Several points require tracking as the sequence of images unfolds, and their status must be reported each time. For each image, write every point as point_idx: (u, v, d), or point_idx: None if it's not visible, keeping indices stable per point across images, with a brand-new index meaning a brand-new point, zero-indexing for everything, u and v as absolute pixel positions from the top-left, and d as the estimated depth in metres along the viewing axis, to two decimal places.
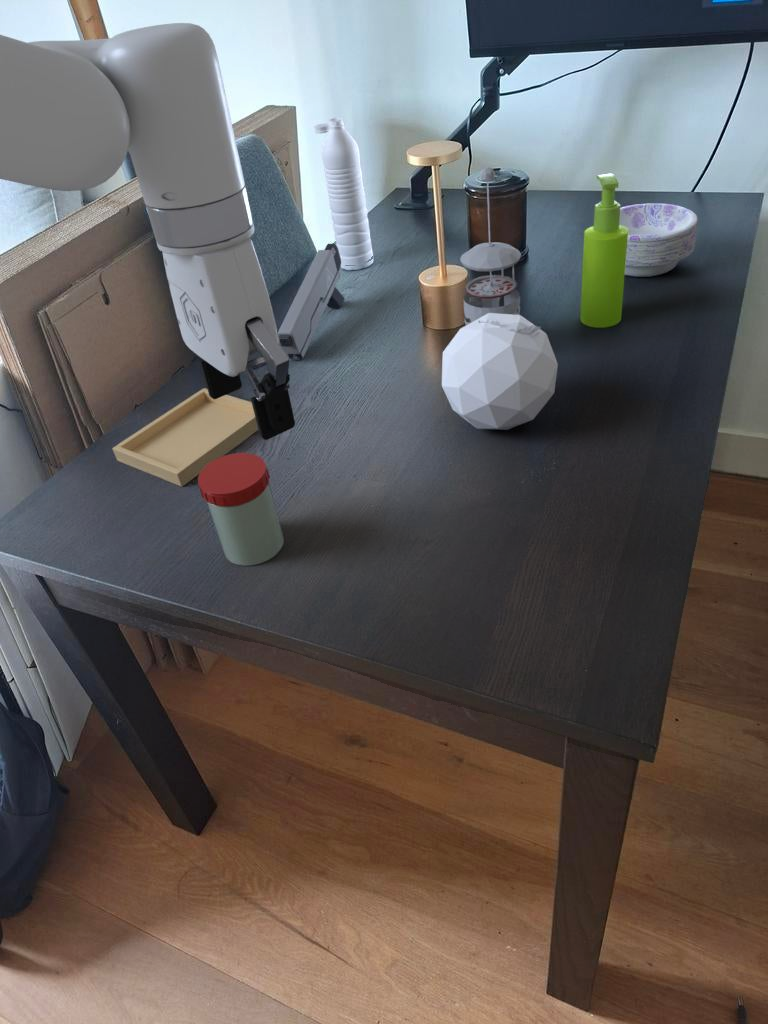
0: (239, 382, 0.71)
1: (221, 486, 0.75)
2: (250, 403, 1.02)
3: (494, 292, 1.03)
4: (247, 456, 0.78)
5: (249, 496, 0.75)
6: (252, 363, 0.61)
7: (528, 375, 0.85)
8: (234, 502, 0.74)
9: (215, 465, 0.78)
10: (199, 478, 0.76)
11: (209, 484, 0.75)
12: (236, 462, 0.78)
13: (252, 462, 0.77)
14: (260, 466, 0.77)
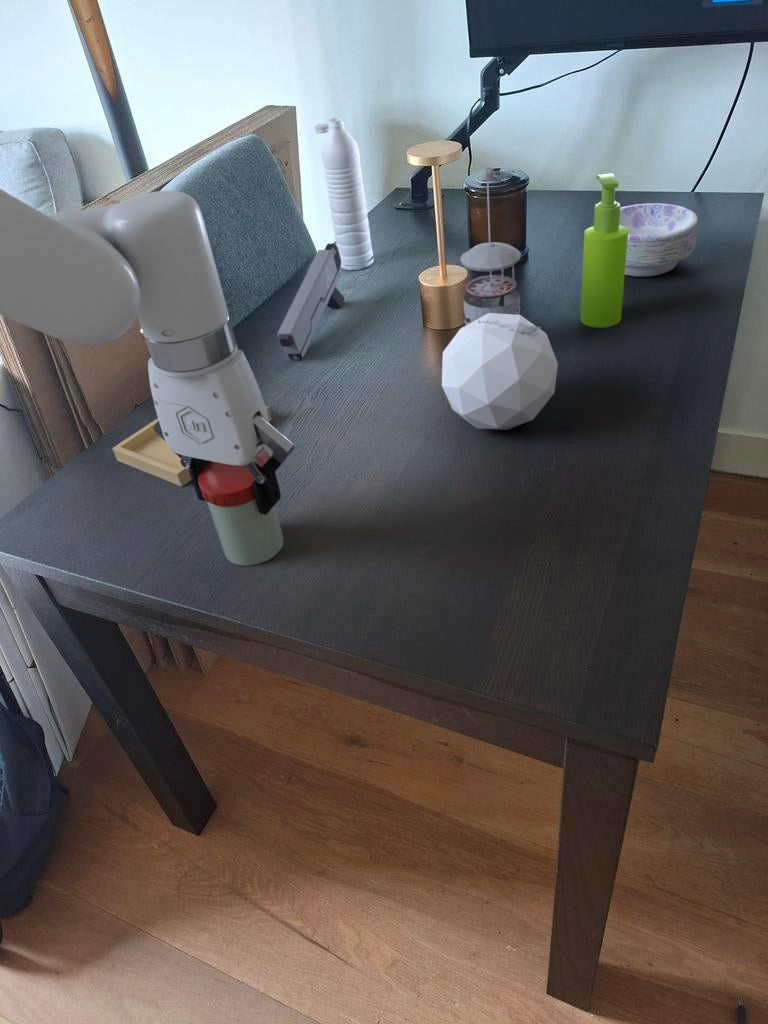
0: None
1: (221, 486, 0.75)
2: None
3: (494, 292, 1.03)
4: None
5: (249, 496, 0.75)
6: None
7: (528, 375, 0.85)
8: (234, 502, 0.74)
9: (215, 465, 0.78)
10: (199, 478, 0.76)
11: (209, 484, 0.75)
12: None
13: None
14: (260, 466, 0.77)
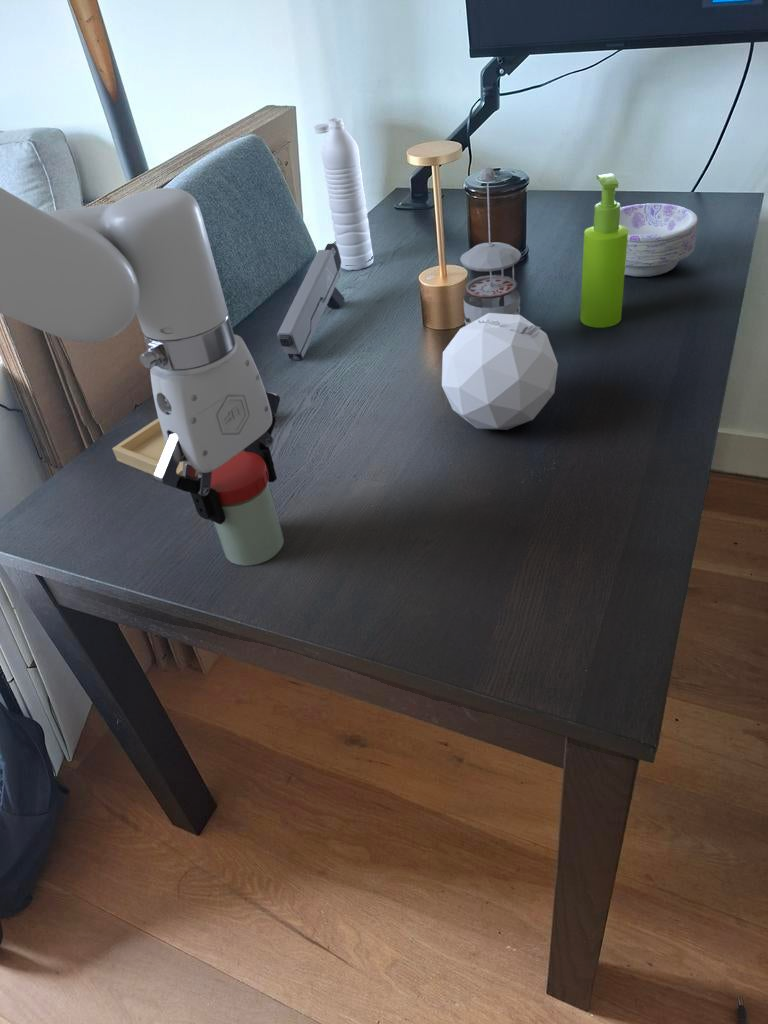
0: None
1: (249, 475, 0.75)
2: None
3: (494, 292, 1.03)
4: None
5: (266, 468, 0.78)
6: None
7: (528, 375, 0.85)
8: (267, 477, 0.77)
9: None
10: (224, 491, 0.74)
11: (240, 483, 0.74)
12: (216, 469, 0.77)
13: None
14: None
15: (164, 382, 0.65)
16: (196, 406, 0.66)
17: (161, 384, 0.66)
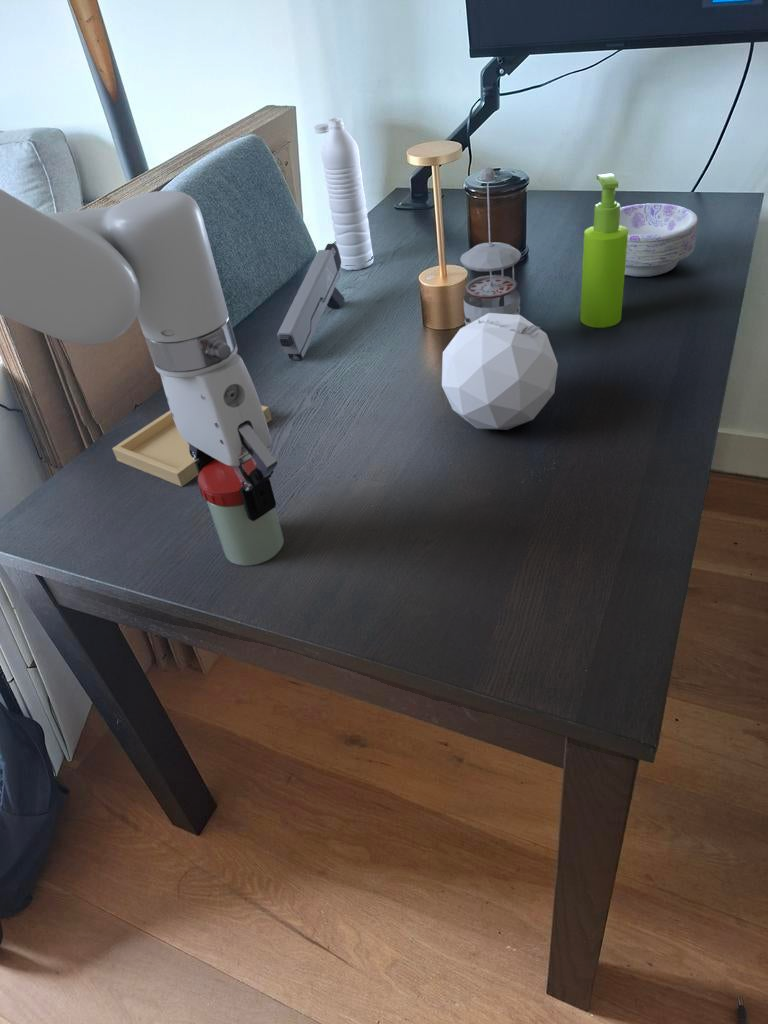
0: None
1: None
2: None
3: (494, 292, 1.03)
4: (208, 486, 0.75)
5: None
6: None
7: (528, 375, 0.85)
8: None
9: None
10: None
11: None
12: (221, 482, 0.75)
13: (208, 478, 0.76)
14: (204, 472, 0.77)
15: (233, 369, 0.66)
16: None
17: (229, 375, 0.66)
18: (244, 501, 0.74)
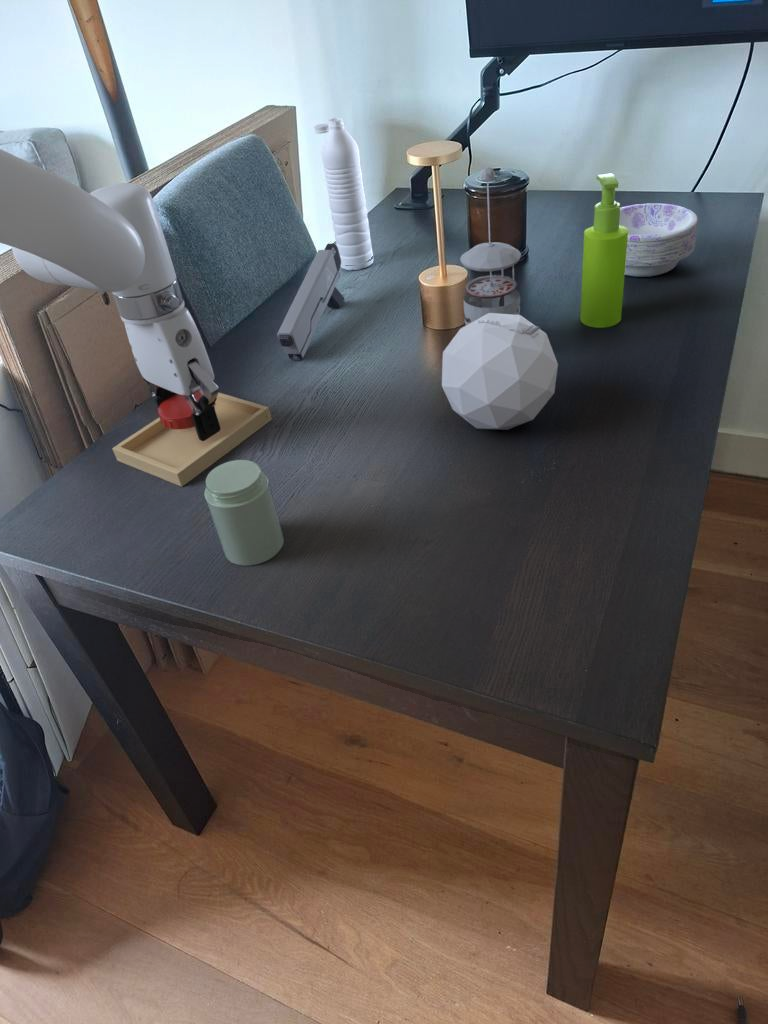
0: None
1: (197, 395, 0.99)
2: (250, 403, 1.02)
3: (494, 292, 1.03)
4: (166, 414, 0.96)
5: None
6: None
7: (528, 375, 0.85)
8: None
9: (192, 411, 0.96)
10: None
11: None
12: (177, 411, 0.96)
13: (166, 409, 0.97)
14: (163, 406, 0.98)
15: (181, 317, 0.87)
16: None
17: (179, 321, 0.87)
18: (195, 424, 0.95)
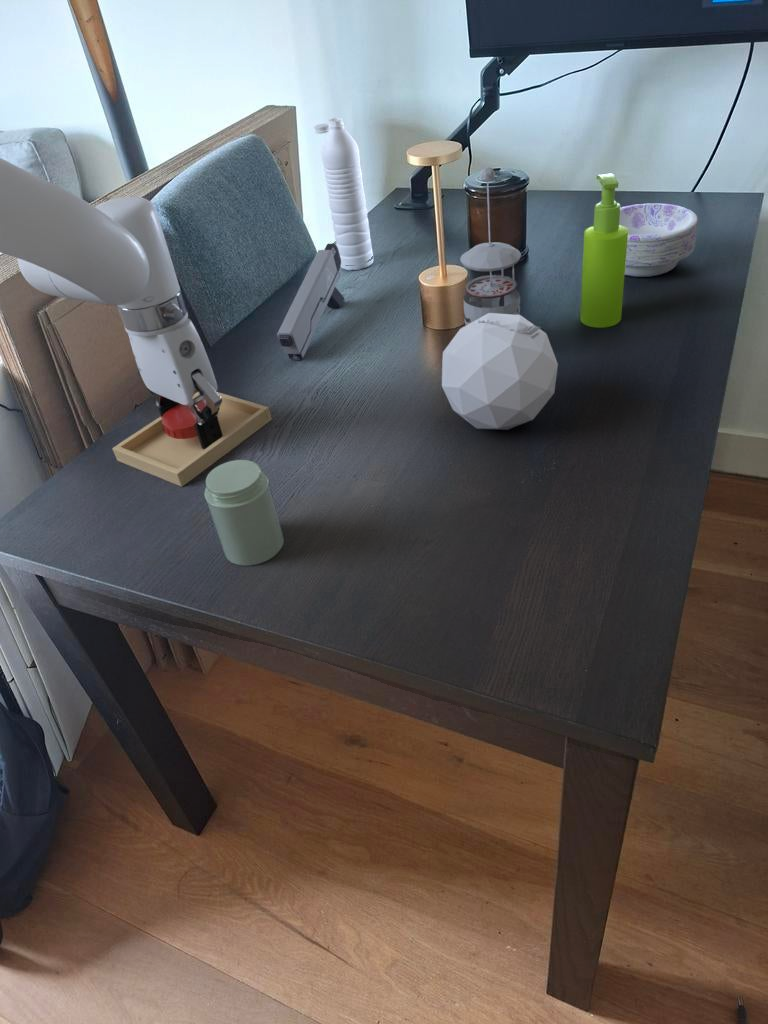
0: None
1: (200, 405, 1.00)
2: (250, 403, 1.02)
3: (494, 292, 1.03)
4: (170, 424, 0.97)
5: None
6: None
7: (528, 375, 0.85)
8: None
9: None
10: None
11: None
12: (180, 421, 0.97)
13: (169, 419, 0.98)
14: (166, 415, 0.99)
15: (185, 329, 0.88)
16: None
17: (183, 333, 0.88)
18: (198, 434, 0.96)
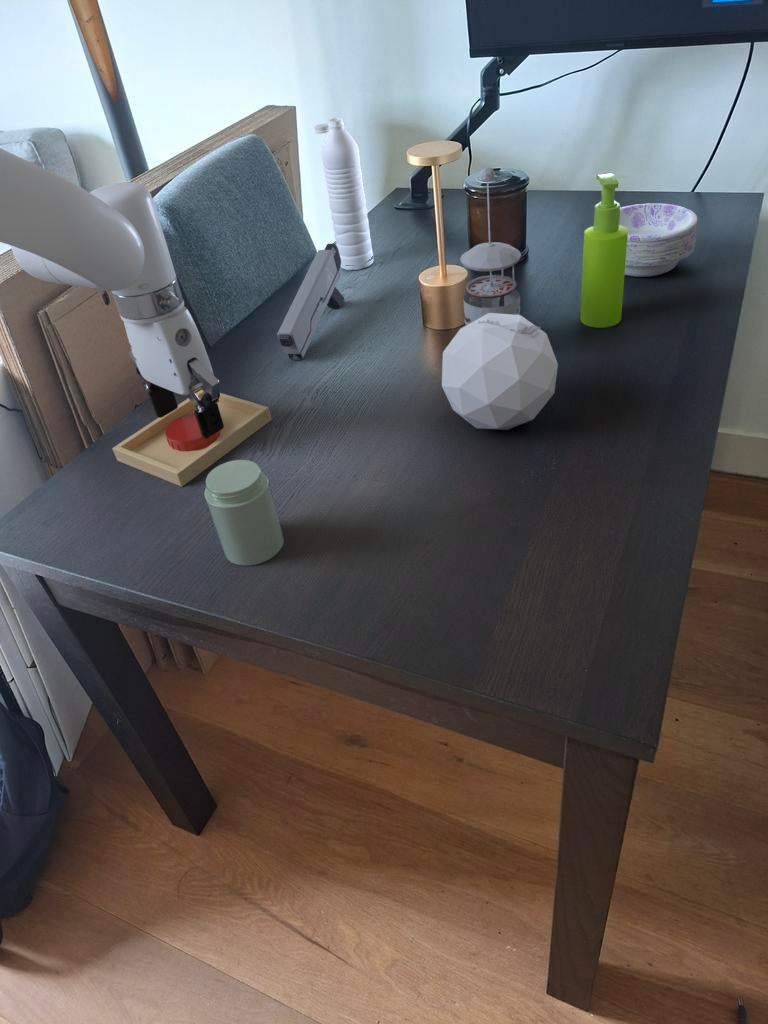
0: None
1: None
2: (250, 403, 1.02)
3: (494, 292, 1.03)
4: (173, 437, 0.98)
5: None
6: None
7: (528, 375, 0.85)
8: None
9: (199, 433, 0.98)
10: None
11: None
12: (184, 433, 0.98)
13: (173, 431, 0.99)
14: (170, 427, 1.00)
15: (181, 317, 0.87)
16: None
17: (179, 321, 0.87)
18: (198, 421, 0.94)
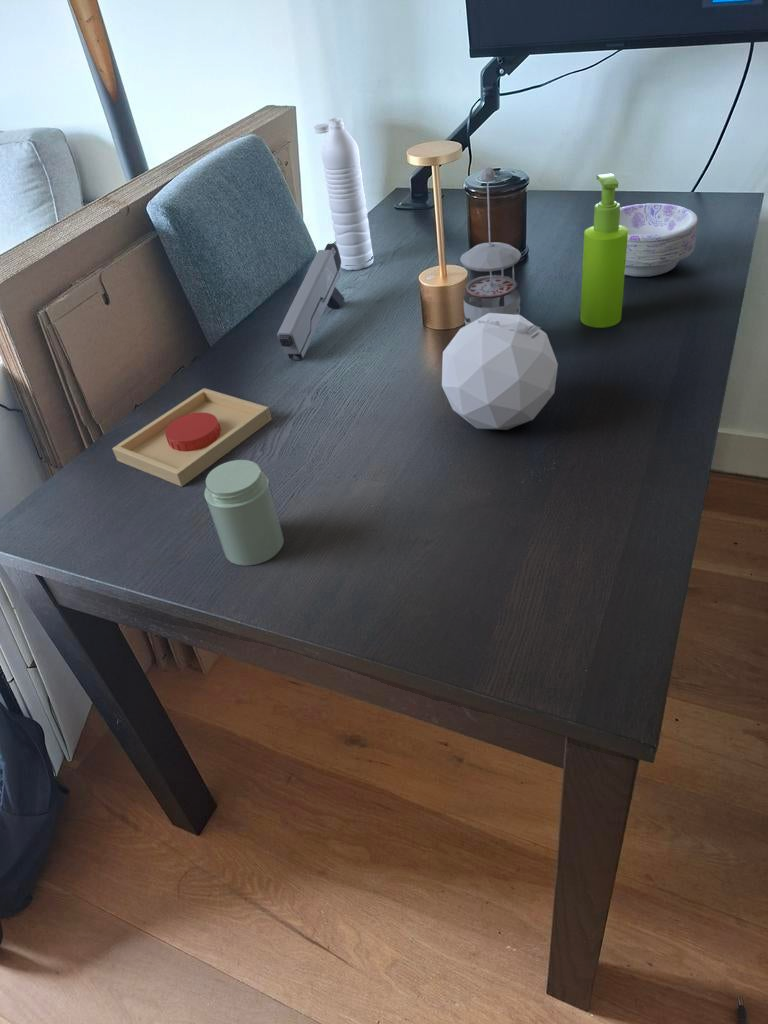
0: None
1: (203, 417, 1.01)
2: (250, 403, 1.02)
3: (494, 292, 1.03)
4: (173, 437, 0.98)
5: None
6: None
7: (528, 375, 0.85)
8: None
9: (199, 433, 0.98)
10: (215, 425, 0.99)
11: (210, 420, 1.00)
12: (184, 433, 0.98)
13: (173, 431, 0.99)
14: (170, 427, 1.00)
15: None
16: None
17: None
18: None
